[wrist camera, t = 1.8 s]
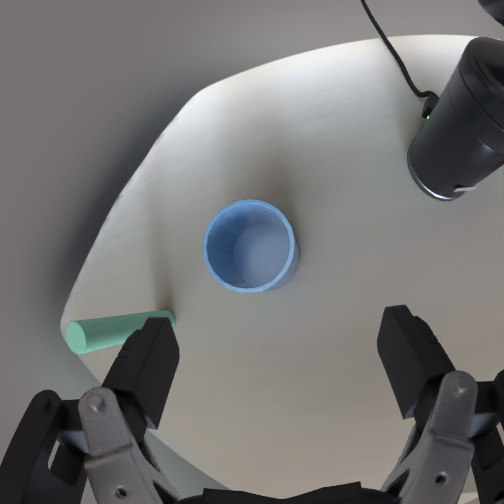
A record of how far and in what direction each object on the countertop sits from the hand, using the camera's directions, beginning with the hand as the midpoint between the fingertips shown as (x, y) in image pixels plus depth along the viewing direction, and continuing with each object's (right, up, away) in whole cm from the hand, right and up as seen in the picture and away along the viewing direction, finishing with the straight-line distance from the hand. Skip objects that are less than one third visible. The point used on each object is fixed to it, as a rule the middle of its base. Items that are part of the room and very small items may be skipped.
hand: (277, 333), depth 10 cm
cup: (+1, +3, +22) cm, 23 cm away
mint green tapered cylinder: (-12, -6, +24) cm, 28 cm away
